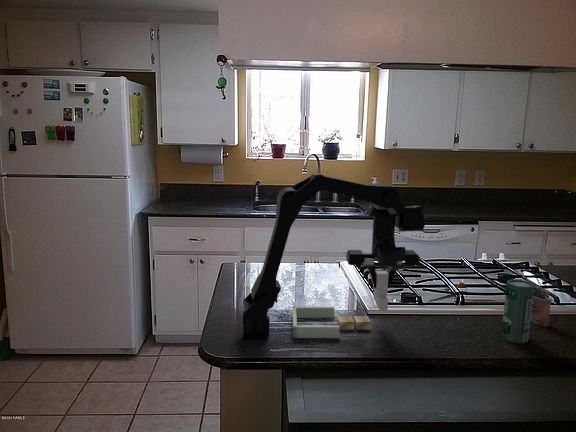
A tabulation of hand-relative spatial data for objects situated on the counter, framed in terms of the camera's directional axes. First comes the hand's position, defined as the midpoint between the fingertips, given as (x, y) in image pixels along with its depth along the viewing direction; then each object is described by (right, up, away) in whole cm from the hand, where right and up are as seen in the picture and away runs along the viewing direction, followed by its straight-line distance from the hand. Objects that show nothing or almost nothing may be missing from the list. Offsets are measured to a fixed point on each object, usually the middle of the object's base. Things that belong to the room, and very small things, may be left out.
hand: (380, 288), depth 127 cm
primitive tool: (+25, -7, +26) cm, 37 cm away
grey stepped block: (0, -4, +1) cm, 5 cm away
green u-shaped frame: (-17, -11, +2) cm, 21 cm away
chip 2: (-5, -11, +2) cm, 13 cm away
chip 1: (-9, -11, +2) cm, 15 cm away
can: (+34, -13, -5) cm, 37 cm away
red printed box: (+45, -10, +6) cm, 47 cm away
